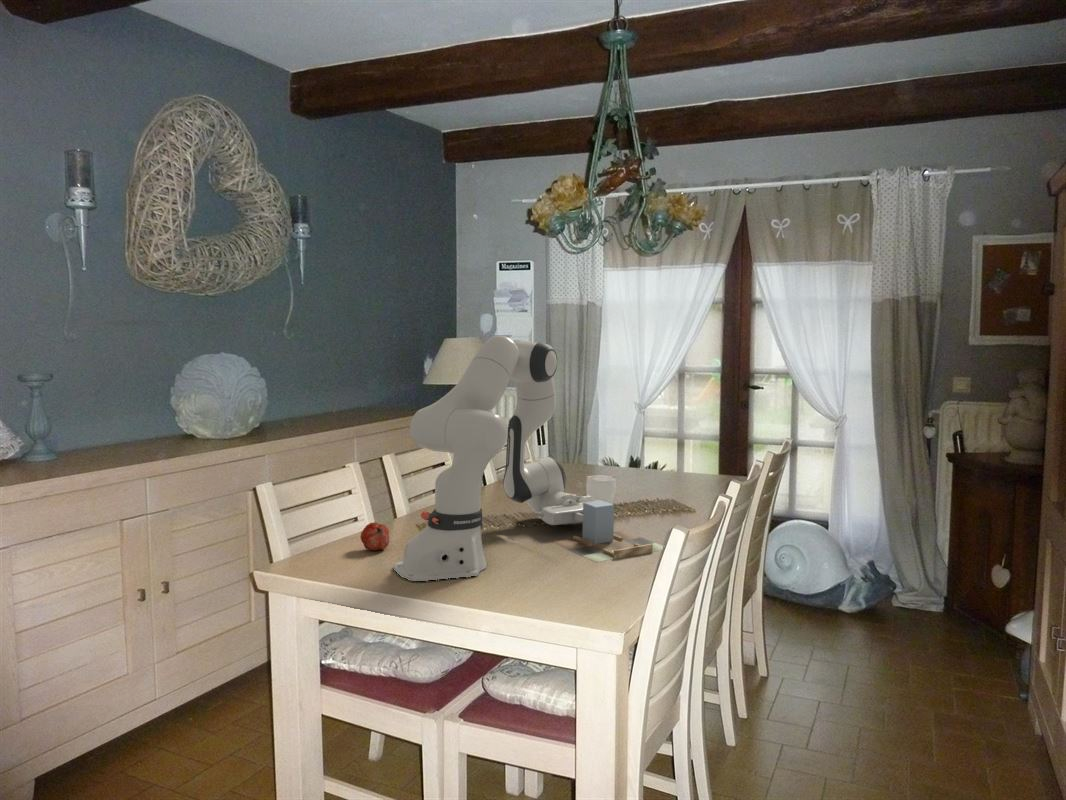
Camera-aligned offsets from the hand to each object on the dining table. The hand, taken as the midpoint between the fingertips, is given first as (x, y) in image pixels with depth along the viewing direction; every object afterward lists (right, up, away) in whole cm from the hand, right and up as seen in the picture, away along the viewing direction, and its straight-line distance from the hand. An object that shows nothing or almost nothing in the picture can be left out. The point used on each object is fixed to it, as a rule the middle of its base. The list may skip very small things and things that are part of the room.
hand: (591, 519), depth 216 cm
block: (+2, -5, -2) cm, 6 cm away
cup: (+5, -3, +28) cm, 28 cm away
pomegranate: (-58, -7, -10) cm, 59 cm away
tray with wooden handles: (+5, -7, -7) cm, 11 cm away
